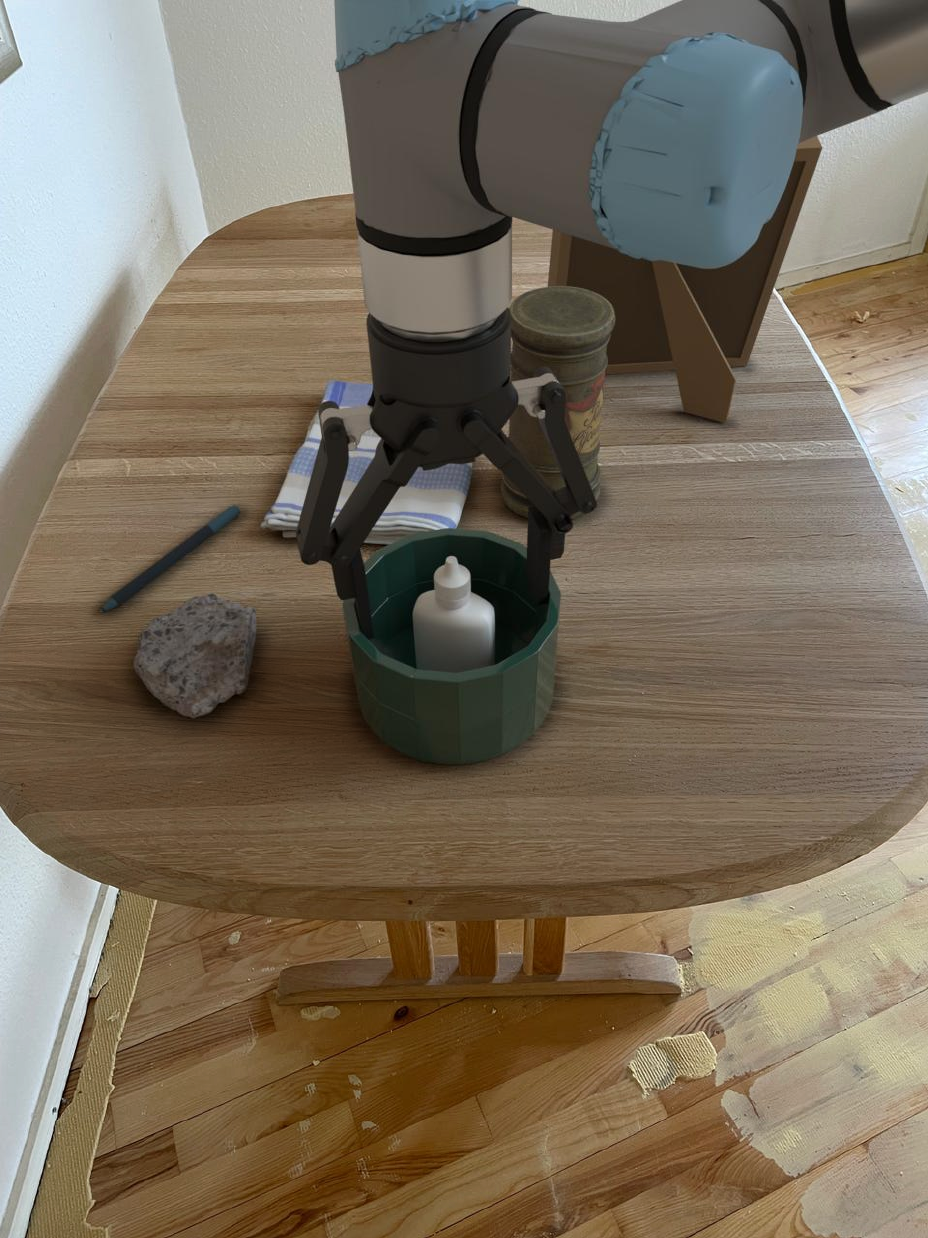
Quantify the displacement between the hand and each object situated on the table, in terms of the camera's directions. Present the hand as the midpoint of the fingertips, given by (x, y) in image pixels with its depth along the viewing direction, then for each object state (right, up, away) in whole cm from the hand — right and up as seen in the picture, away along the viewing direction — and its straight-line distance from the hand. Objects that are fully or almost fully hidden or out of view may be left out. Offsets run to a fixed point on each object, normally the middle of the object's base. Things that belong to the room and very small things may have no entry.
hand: (452, 608), depth 62 cm
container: (+9, +11, +22) cm, 26 cm away
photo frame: (+21, +23, +34) cm, 46 cm away
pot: (0, -6, +6) cm, 8 cm away
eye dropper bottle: (0, -5, +6) cm, 8 cm away
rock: (-19, -4, +8) cm, 21 cm away
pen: (-24, +4, +16) cm, 29 cm away
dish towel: (-7, +14, +25) cm, 29 cm away
